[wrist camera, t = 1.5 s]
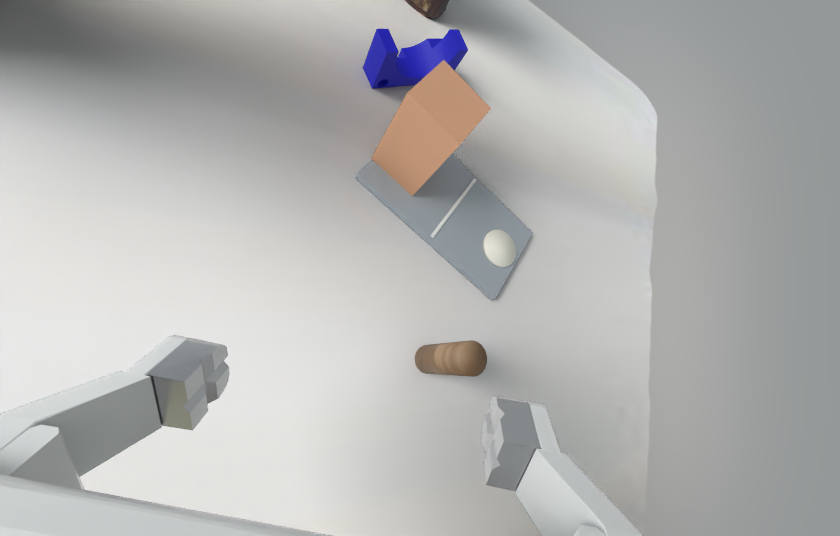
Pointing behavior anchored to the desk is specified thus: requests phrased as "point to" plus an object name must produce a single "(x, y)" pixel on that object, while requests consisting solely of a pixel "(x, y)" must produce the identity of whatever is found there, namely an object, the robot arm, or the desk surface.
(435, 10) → the book
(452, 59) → the cable clip
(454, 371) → the pin
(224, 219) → the desk surface
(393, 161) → the block
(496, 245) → the board
